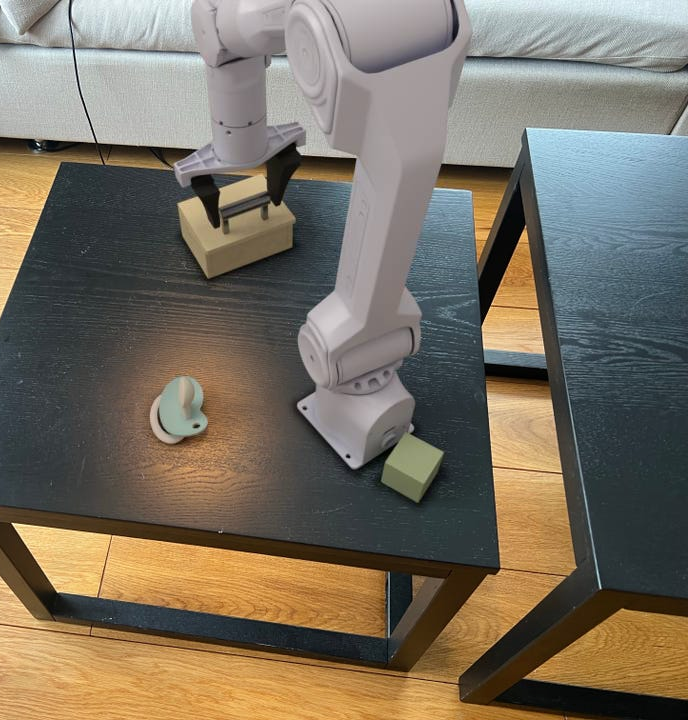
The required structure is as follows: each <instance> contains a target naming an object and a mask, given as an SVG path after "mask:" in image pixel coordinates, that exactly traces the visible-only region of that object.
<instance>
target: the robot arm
mask: <svg viewBox="0 0 688 720" xmlns="http://www.w3.org/2000/svg"><path fill="white" fill-rule="evenodd" d="M190 25H191V29H192V30H191V31H192V34H193V38H194V41H195V45H196V47H197V51H198V52H199V54H200V56H201V58H202V60H203V62H204V64H205V73H206V85H207V93H208V94H207V95H208V105H209V115H210V125H211V137H212V140H211V141H209V142H207V143H206V144H204V145H203V146H202V147H199V149H197V150H195V151H194V152H192V153H191V154H190V155H188V156H187V157H185V158H183V159H180V160H178V161H176V162H173V168H174V175H175V178H176V180H177V182H178V183H179V185H180V186H181V188H183V189H184V188H186V187H189V186H190V187H191V189H192V190H193V192H194V194H195V195H196V197H197V196H198V198H199V199H200V200H201V201H202V204H203V206H204V208H205V211H206V214H207V217H208V220H209V221H210V223H211V225H212V226H213V228H214V229H217V228H219V227H220V215H219V196H220V193H221V192H220V191H219V189H220V188H219V187H218V186H217V185H216V182H215V178H213V177H212V175H216V174H225V173H234V172H244V171H250V170H253V169H256V168H257V167H259V166H262V165H263V164H264V163H265V166H266V167H265V168H266V180H267V192H268V194H269V196H270V199H271V201H272V203H273V204H274V205H275V207H277V206H280V205H281V202H282V201H283V198H284V195H285V193H286V190H287V187H288V184H289V183H290V181H291V179H292V177H293V175H294V174H295V173H296V171H297V170H298V169H299V168H300V167H301V165H302V154H301V153H300V152H299V151H298V148H301V147H304V146H306V144H307V130H306V128H305V127H304V126H303V125H302V123H300V121H299V120H294V121H291V122H286V123H279V124H273V125H272V124H271V125H268V109H267V107H268V106H267V104H268V103H267V69H268V68H269V67H270V66H271V64H272V56H274V55H279V54H281V53H284V52H285V51H286V57H287V61H288V65H289V69H290V71H291V74H292V76H293V78H294V81H295V82H296V85H297V86H298V88H299V89H300V91H301V93H302V95H303V97H304V99H305V101H306V104H307V105H308V108H309V109H310V111H311V113H312V116H313V118H314V120H315V122H316V125H317V126H318V128H319V131H321V132H322V133H323V136H324V138H325V140H326V142H327V144H328V146H329V148H330V149H331V150H335V151H339V152H343V153H347V154H350V155H354V156H356V161H355V167H354V172H353V177H352V184H351V191H350V197H349V203H348V207H347V214H346V219H345V226H344V231H343V237H342V238H343V239H342V244H341V248H340V249H341V250H340V256H339V261H338V267H337V273H336V279H335V285H334V290H333V291H332V292H331V293H329V294H328V295H327V296H326V297H325V298H323V299H322V300H321V301H320V302H319V303H318V304H316V305H315V306H314V307H313V308H312V309H310V310H309V312H307V314H306V322H305V323H304V324H302V325H301V326H300V328H299V332H298V334H297V346H298V347H297V348H298V351H299V355H300V357H301V360H302V363H303V366H304V367H305V369H306V372H307V373H308V375H309V376H310V378H311V380H312V381H313V382H314V383H315V391H314V392H313V393H311V394H309V395H307V396H306V397H305V398H303V399H301V400H300V401H298V402H297V403H296V404H297V405H296V408H297V410H298V411H299V412H300V413H301V414H302V415H303V416H304V418H305V419H306V420H307V421H308V422H309V423H310V424H311V425H312V426H313V428H315V430H316V431H317V432H318V434H319V435H320V436H321V437H322V438H323V439H324V440H325V441H326V442H327V443H328V444H329V446H331V448H332V449H333V450H334V451H335V452H336V453H337V455H339V456H340V457H341V459H342V460H343V462H345V463H346V465H347V466H348V467H349V468H350V469H351V470H358V469H360V468H361V467H363V466H364V465H366V464H367V463H368V462H370V461H372V460H374V459H375V458H376V457H378V456H379V455H381V454H382V453H383V452H385V451H387V450H388V449H390V448H391V447H393V446H394V445H397V444H398V442H399V441H400V439H401V438H402V436H403V435H404V433H405V432H407V433H409V434H411V435H412V433H413V432H414V430H415V426H414V425H413V423H412V419H413V415H414V410H415V406H416V400H415V398H414V396H413V395H412V394H411V393H410V392H409V391H408V390H407V389H406V388H405V385H403V383H402V381H401V379H400V377H399V375H398V372H397V369H399V368H400V367H402V366H403V362H404V358H409V357H413V356H415V355H416V354H417V353H418V352H419V350H420V346H421V341H422V332H421V323H420V322H421V319H422V316H423V313H422V310H421V308H420V306H419V304H418V302H417V301H416V298H415V297H414V296H413V293H411V291H409V289H408V288H407V286H406V284H407V280H408V277H409V273H410V270H411V266H412V263H413V260H414V257H415V253H416V250H417V247H418V243H419V240H420V237H421V234H422V230H423V227H424V223H425V220H426V217H427V214H428V211H429V207H430V204H431V200H432V197H433V193H434V190H435V187H436V184H437V181H438V177H439V173H440V170H441V166H442V163H443V159H444V155H445V150H446V141H447V130H448V129H447V128H448V117H449V110H450V109H451V108H452V106H453V103H454V100H455V96H456V93H457V90H458V86H459V84H460V83H459V82H460V79H461V75H462V72H463V69H464V65H465V62H466V59H467V56H468V55H467V54H468V52H469V48H470V44H471V42H472V38H473V35H474V31H473V27H472V25H471V20H470V16H469V13H468V10H467V7H466V4H465V0H194V1H193V2H192V4H191V6H190ZM349 457H350V458H349Z"/></svg>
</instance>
